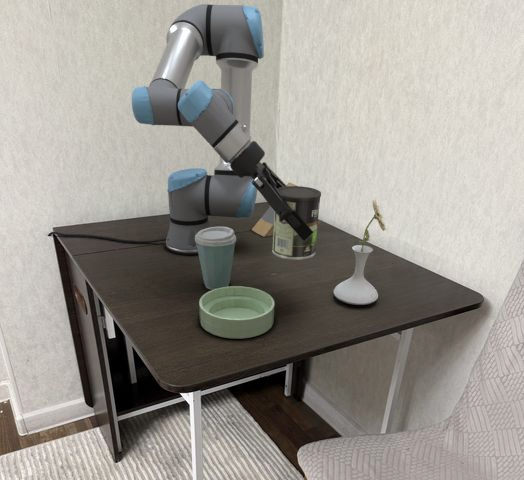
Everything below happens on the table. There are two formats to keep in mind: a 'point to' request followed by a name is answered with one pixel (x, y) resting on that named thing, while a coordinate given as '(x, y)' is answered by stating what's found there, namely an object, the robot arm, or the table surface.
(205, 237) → the disposable coffee cup
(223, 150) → the robot arm
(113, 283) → the table surface
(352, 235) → the table surface
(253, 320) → the bowl
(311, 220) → the coffee can
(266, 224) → the sandwich container
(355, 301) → the flower in vase
